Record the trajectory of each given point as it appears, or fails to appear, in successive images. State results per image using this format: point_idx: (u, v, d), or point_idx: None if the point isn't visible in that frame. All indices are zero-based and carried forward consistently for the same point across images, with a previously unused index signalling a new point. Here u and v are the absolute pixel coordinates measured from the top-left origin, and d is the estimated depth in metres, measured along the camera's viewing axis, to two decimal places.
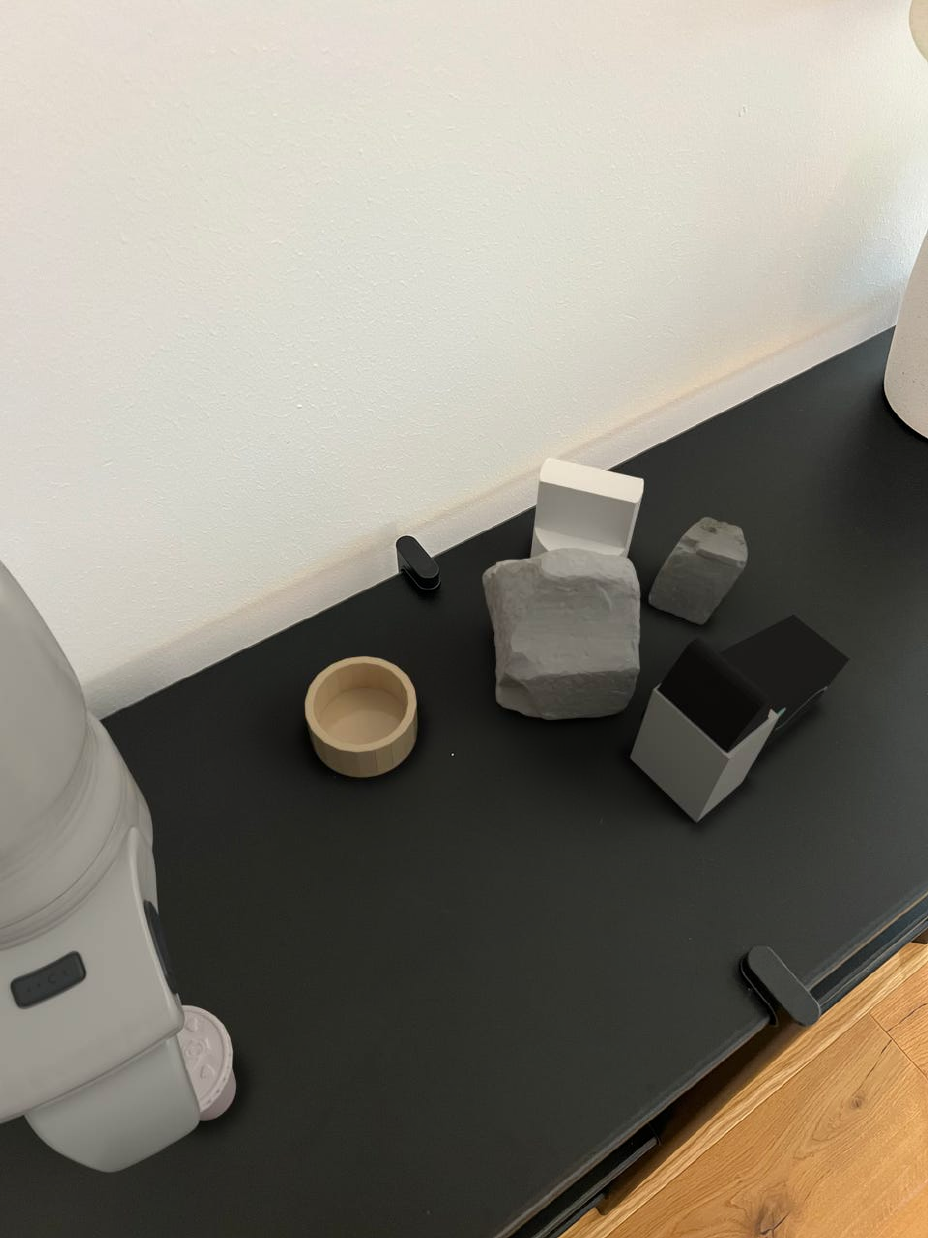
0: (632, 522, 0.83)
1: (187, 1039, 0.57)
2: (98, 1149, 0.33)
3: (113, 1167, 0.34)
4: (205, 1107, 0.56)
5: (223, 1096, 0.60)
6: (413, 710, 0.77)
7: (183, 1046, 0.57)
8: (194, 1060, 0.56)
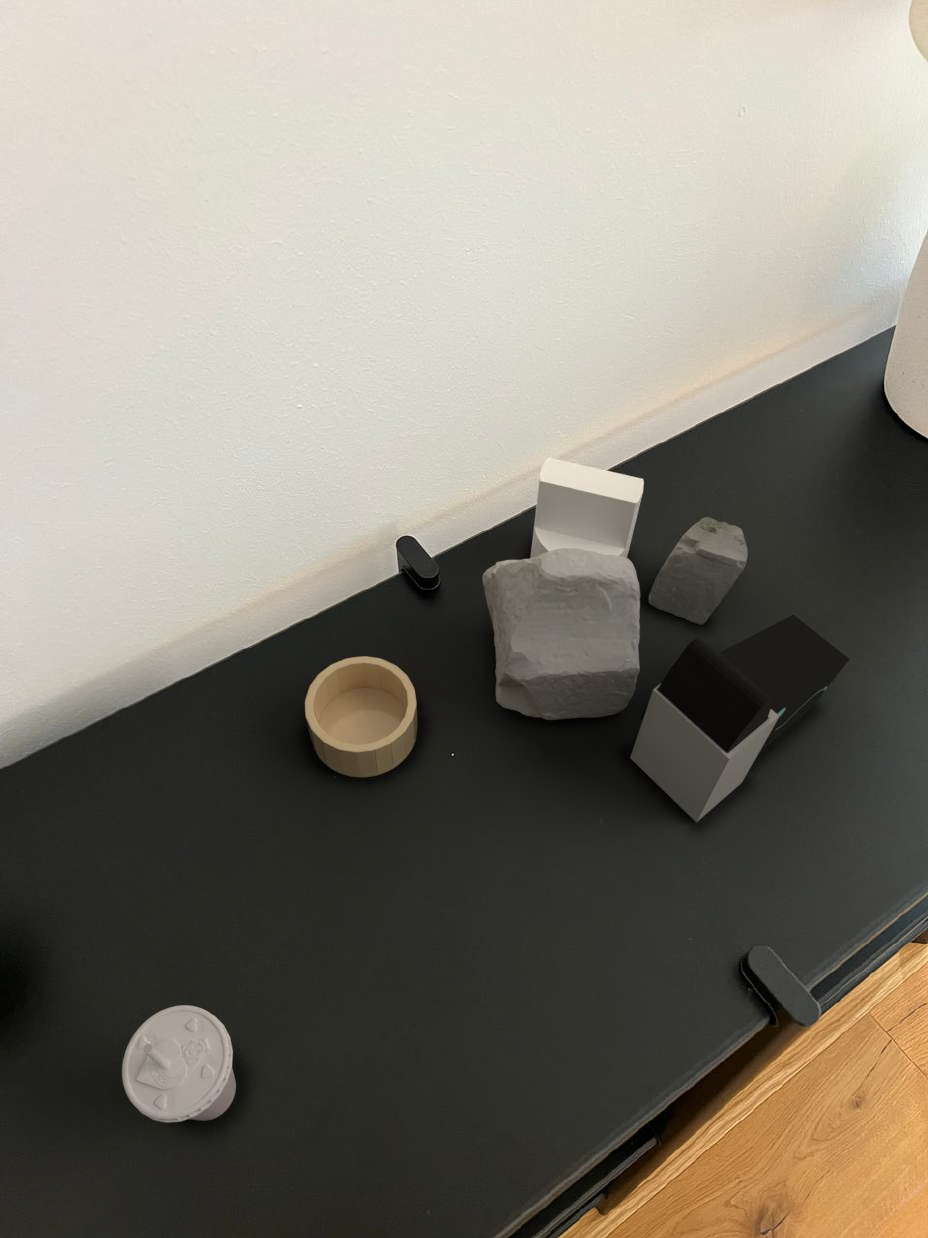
0: (632, 522, 0.83)
1: (187, 1039, 0.57)
2: None
3: None
4: (205, 1107, 0.56)
5: (223, 1096, 0.60)
6: (413, 710, 0.77)
7: (183, 1046, 0.57)
8: (194, 1060, 0.56)
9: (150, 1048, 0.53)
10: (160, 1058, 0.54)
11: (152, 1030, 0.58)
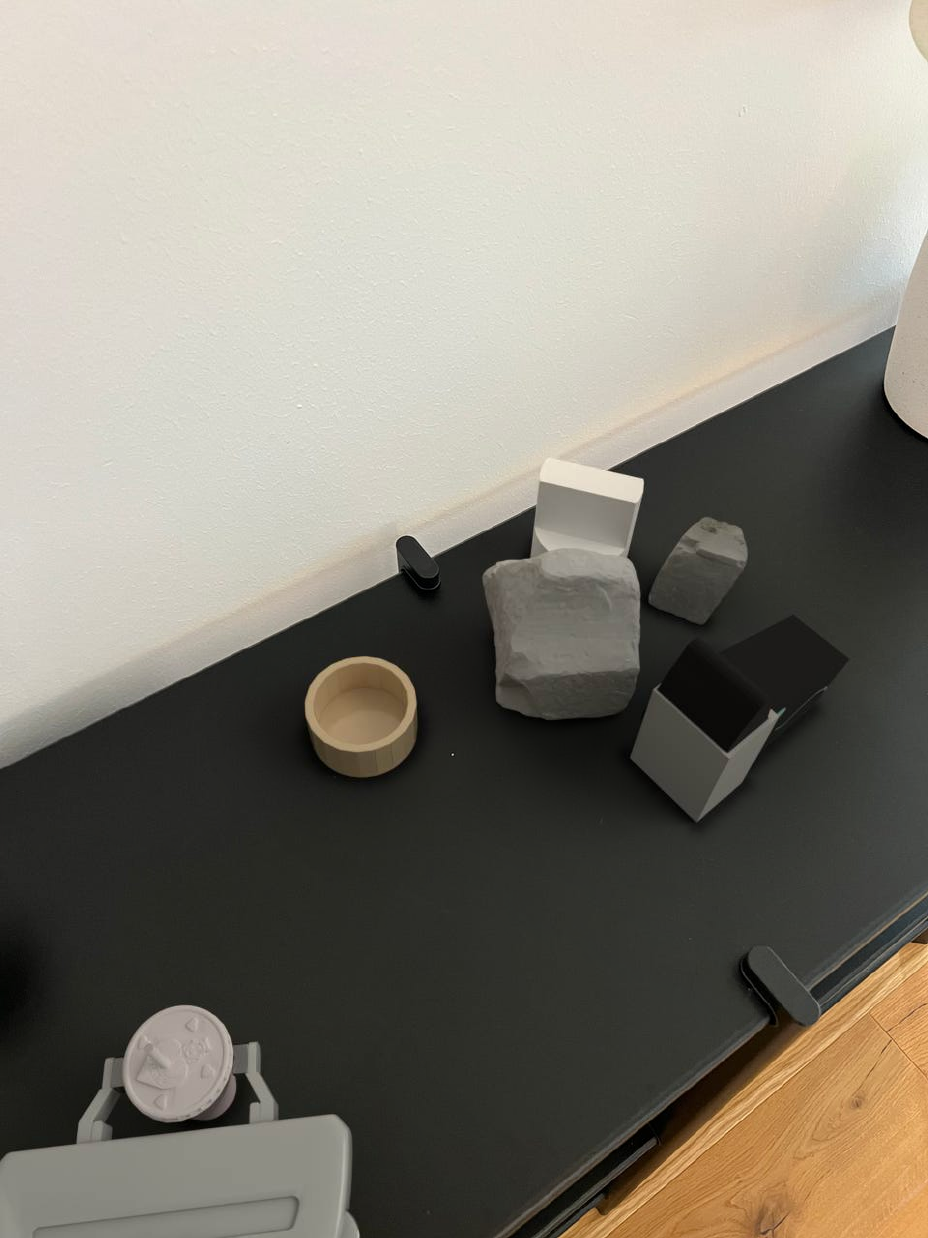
0: (632, 522, 0.83)
1: (187, 1039, 0.57)
2: None
3: None
4: (205, 1107, 0.56)
5: (223, 1096, 0.60)
6: (413, 710, 0.77)
7: (183, 1046, 0.57)
8: (194, 1060, 0.56)
9: (150, 1048, 0.53)
10: (160, 1058, 0.54)
11: (152, 1030, 0.58)
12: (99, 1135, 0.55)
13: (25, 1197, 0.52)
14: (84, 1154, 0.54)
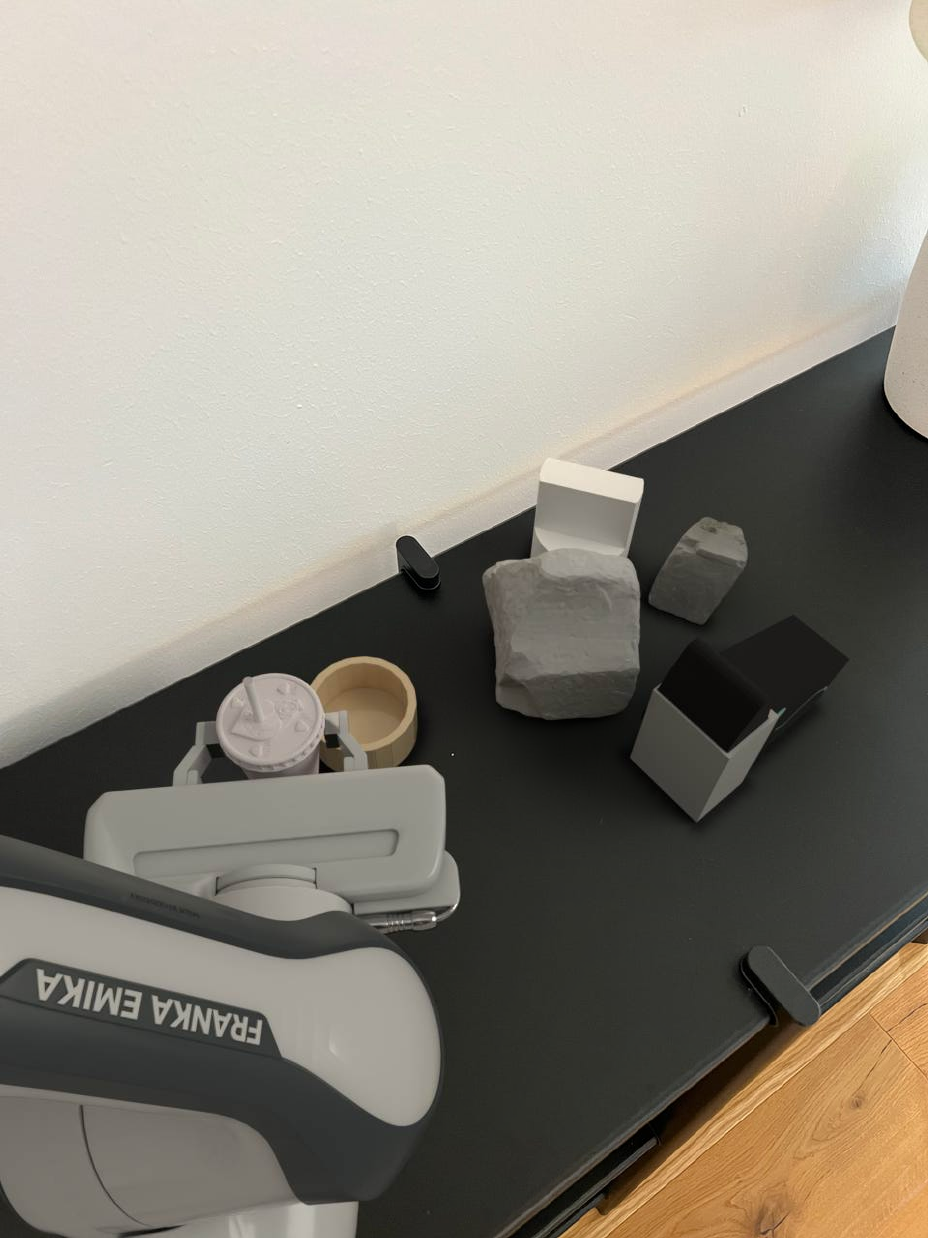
0: (632, 522, 0.83)
1: (279, 700, 0.57)
2: None
3: None
4: (300, 759, 0.56)
5: (312, 771, 0.60)
6: (413, 710, 0.77)
7: (276, 704, 0.57)
8: (288, 716, 0.56)
9: (249, 681, 0.53)
10: (257, 701, 0.54)
11: (244, 692, 0.57)
12: (195, 782, 0.55)
13: (125, 827, 0.52)
14: (181, 792, 0.54)
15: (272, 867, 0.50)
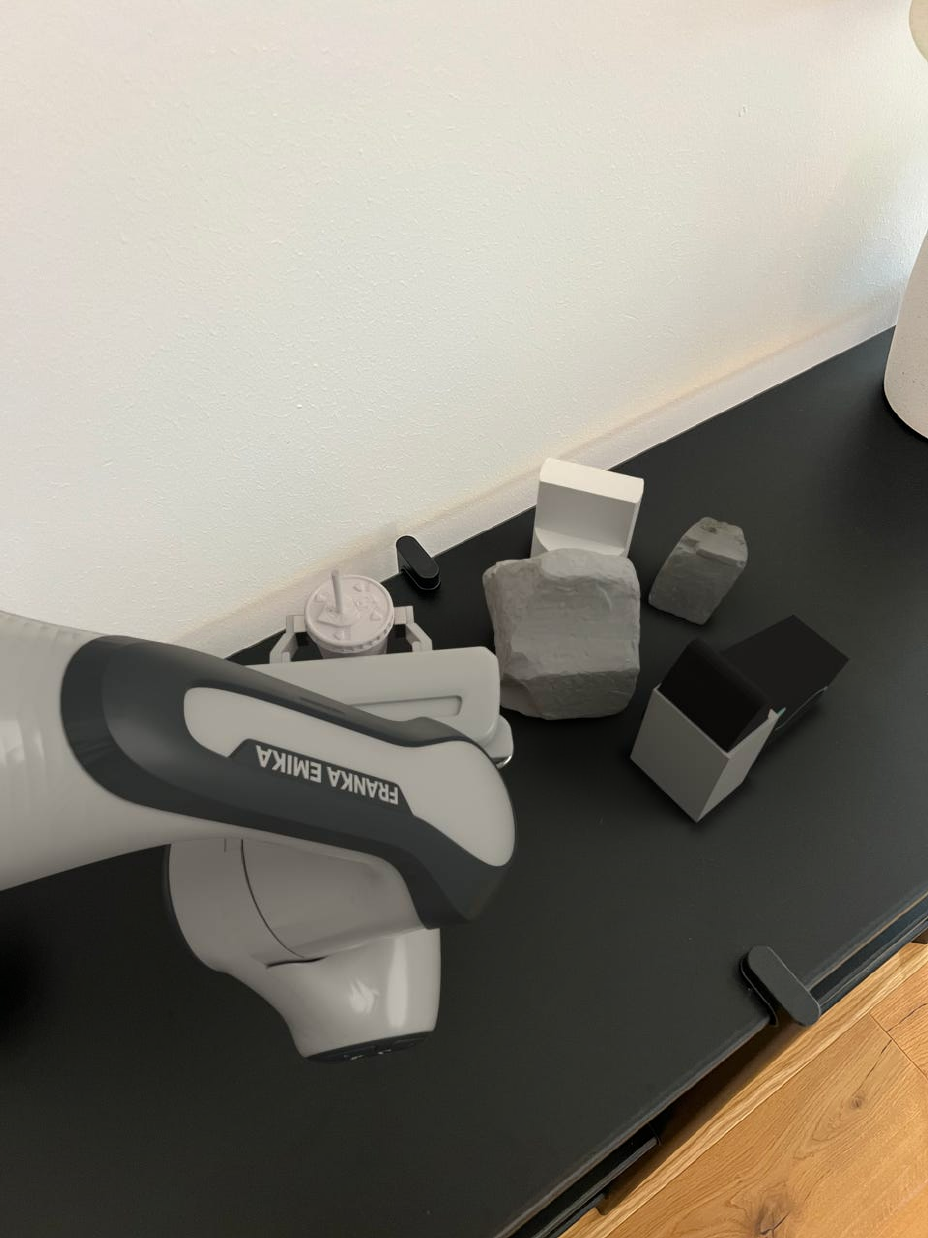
0: (632, 522, 0.83)
1: (356, 595, 0.67)
2: None
3: None
4: (375, 643, 0.66)
5: None
6: None
7: (354, 599, 0.67)
8: (364, 608, 0.67)
9: (336, 573, 0.63)
10: (341, 591, 0.65)
11: (326, 590, 0.68)
12: (288, 661, 0.65)
13: None
14: (279, 667, 0.64)
15: None
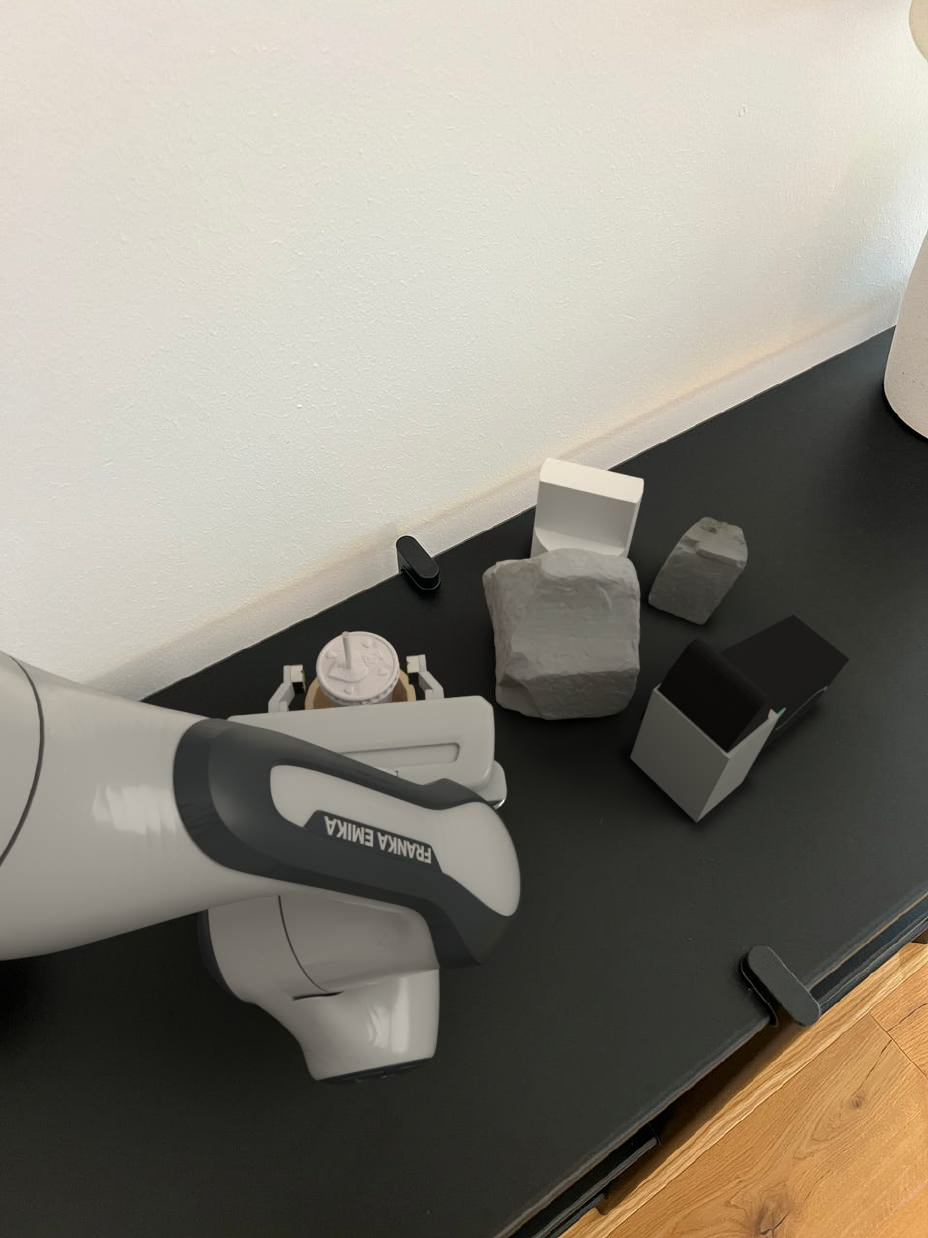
0: (632, 522, 0.83)
1: (364, 651, 0.73)
2: None
3: None
4: (382, 696, 0.72)
5: None
6: None
7: (362, 655, 0.73)
8: (372, 664, 0.72)
9: (347, 635, 0.69)
10: (351, 650, 0.70)
11: (336, 646, 0.73)
12: (285, 710, 0.70)
13: None
14: (290, 716, 0.69)
15: None
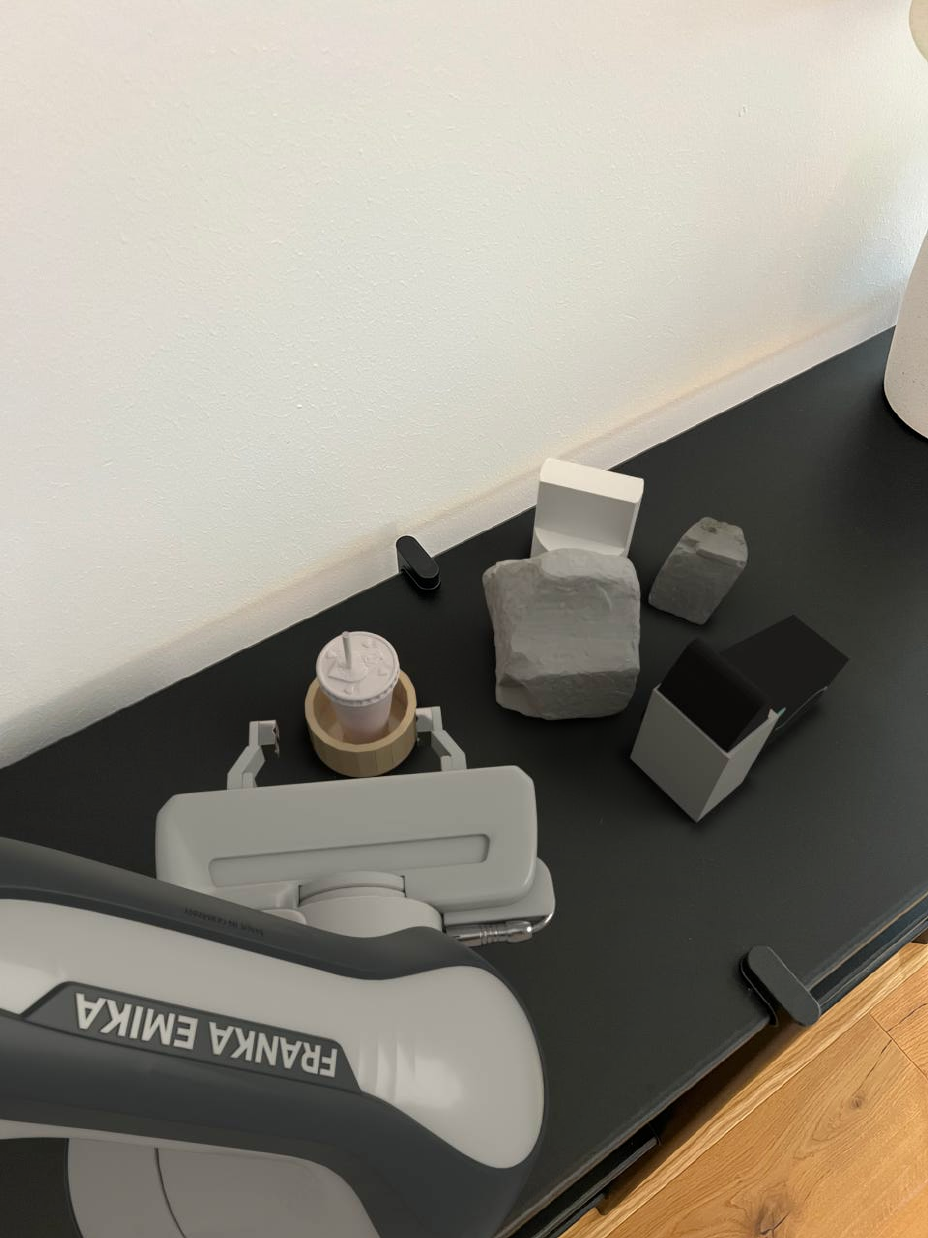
0: (632, 522, 0.83)
1: (364, 651, 0.73)
2: None
3: None
4: (382, 696, 0.72)
5: (387, 709, 0.76)
6: (413, 710, 0.77)
7: (362, 655, 0.73)
8: (372, 664, 0.72)
9: (347, 635, 0.69)
10: (351, 650, 0.70)
11: (336, 646, 0.73)
12: (250, 785, 0.52)
13: (198, 831, 0.49)
14: (256, 795, 0.50)
15: (360, 875, 0.47)
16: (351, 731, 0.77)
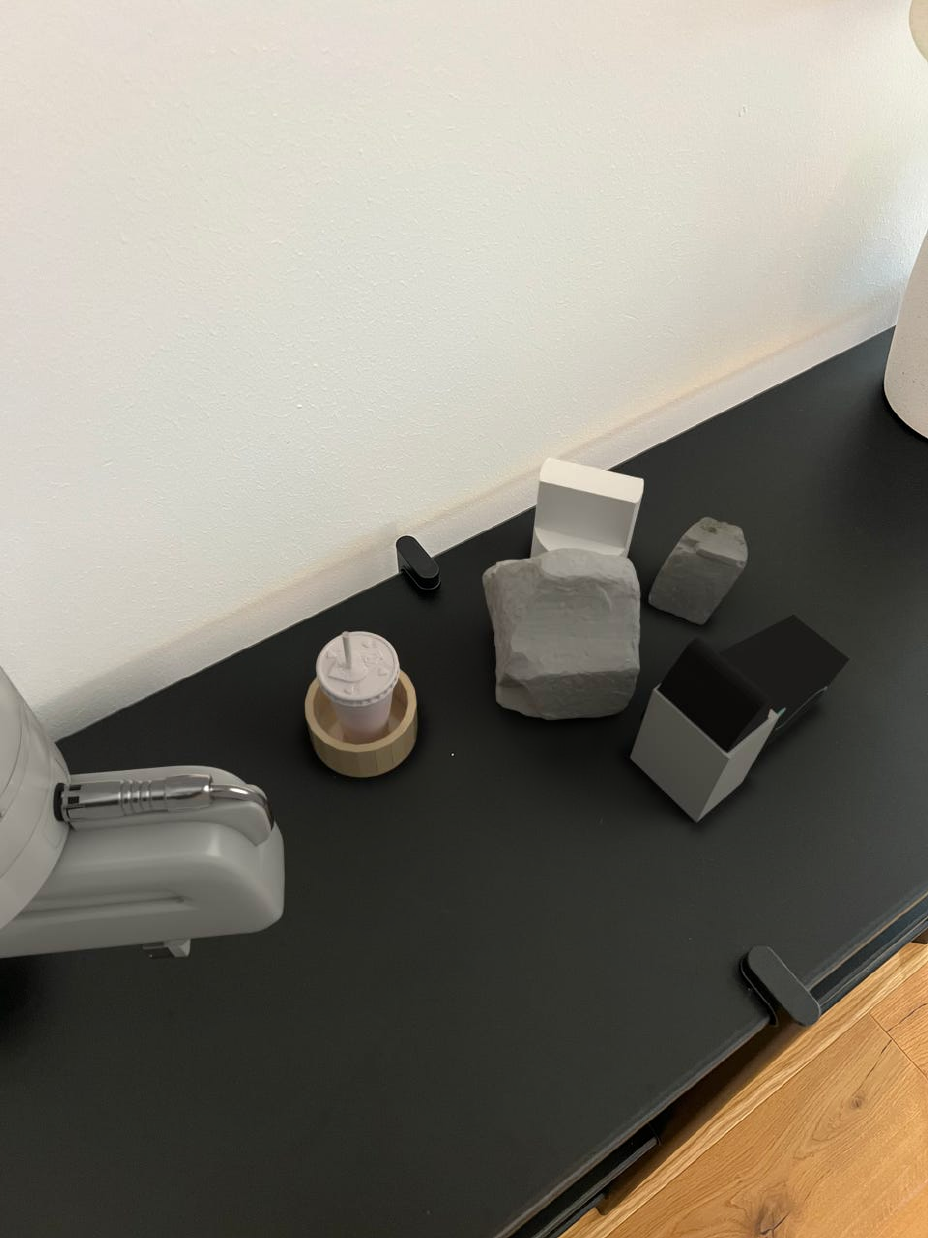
0: (632, 522, 0.83)
1: (364, 651, 0.73)
2: None
3: None
4: (382, 696, 0.72)
5: (387, 709, 0.76)
6: (413, 710, 0.77)
7: (362, 655, 0.73)
8: (372, 664, 0.72)
9: (347, 635, 0.69)
10: (351, 650, 0.70)
11: (336, 646, 0.73)
12: None
13: None
14: None
15: None
16: (351, 731, 0.77)
